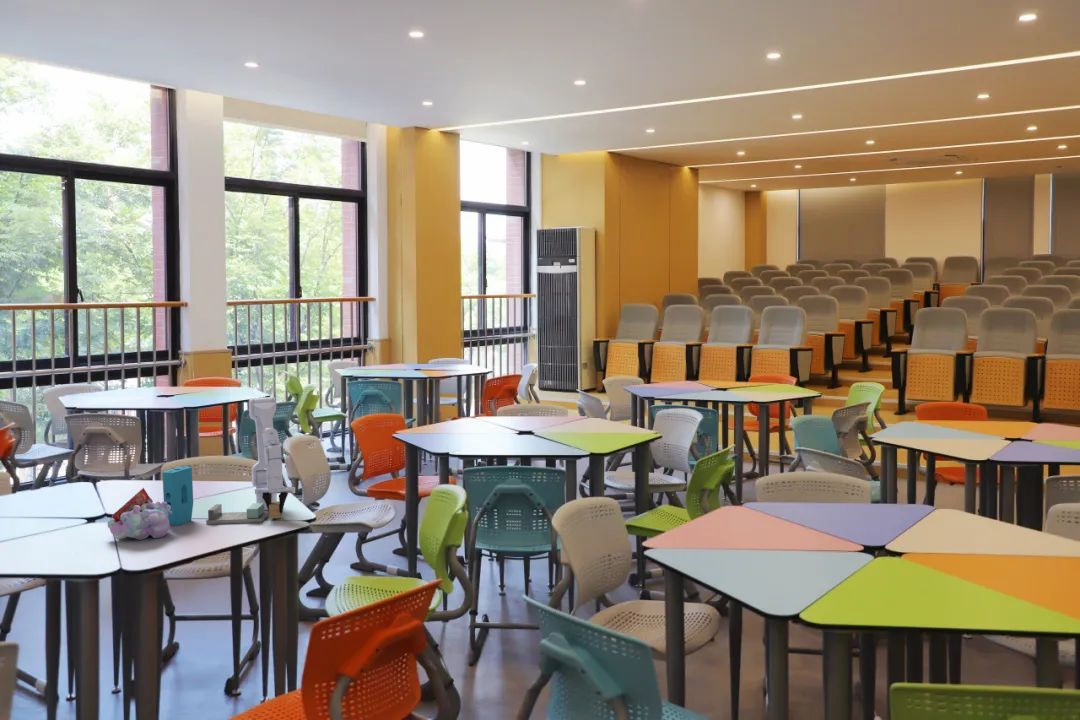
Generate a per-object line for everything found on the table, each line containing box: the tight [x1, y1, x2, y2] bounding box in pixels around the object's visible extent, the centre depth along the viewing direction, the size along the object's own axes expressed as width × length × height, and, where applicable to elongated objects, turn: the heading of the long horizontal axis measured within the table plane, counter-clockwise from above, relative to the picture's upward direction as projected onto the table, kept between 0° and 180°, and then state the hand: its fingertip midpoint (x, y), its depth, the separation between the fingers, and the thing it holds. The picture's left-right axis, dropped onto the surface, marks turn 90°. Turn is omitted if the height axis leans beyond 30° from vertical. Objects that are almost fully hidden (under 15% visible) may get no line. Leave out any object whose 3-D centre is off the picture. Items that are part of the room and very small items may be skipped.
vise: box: [205, 503, 269, 525], centre depth 347 cm, size 12×20×5 cm, turn 93°
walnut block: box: [268, 500, 284, 519], centre depth 348 cm, size 6×4×5 cm, turn 3°
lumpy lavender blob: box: [107, 487, 172, 541], centre depth 323 cm, size 20×22×18 cm
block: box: [162, 466, 194, 527], centre depth 343 cm, size 12×5×20 cm, turn 167°
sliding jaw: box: [246, 502, 265, 518], centre depth 347 cm, size 10×4×3 cm, turn 3°
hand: (275, 512), depth 348 cm, fingers closed on walnut block, 3 cm apart
